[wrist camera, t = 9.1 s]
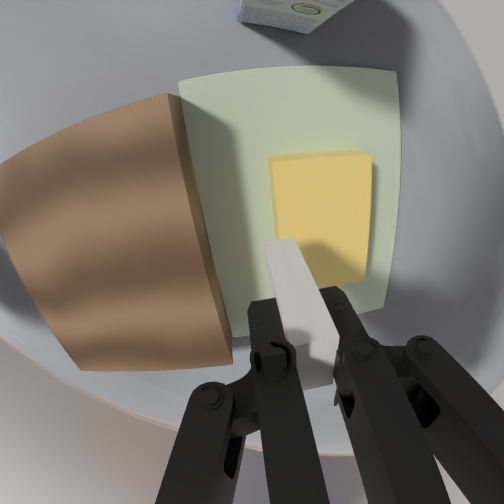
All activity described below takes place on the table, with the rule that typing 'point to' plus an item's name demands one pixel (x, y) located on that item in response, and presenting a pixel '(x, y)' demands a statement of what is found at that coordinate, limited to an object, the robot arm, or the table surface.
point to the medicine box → (290, 13)
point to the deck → (117, 241)
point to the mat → (285, 142)
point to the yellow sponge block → (324, 210)
